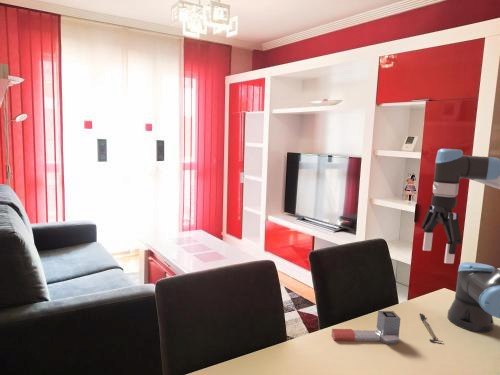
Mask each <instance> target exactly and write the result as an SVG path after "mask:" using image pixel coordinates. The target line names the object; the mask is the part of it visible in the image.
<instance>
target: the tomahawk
mask: <svg viewBox="0 0 500 375" xmlns="http://www.w3.org/2000/svg"><path fill="white" fill-rule="evenodd" d="M419 316H420V320H421V321H422V323H423V325H424V326H425V329H426V330H427V332H428V333H429V334H430V336H431V338H432V339H431V338H430V339H429V342H430V343H432V344H434V343H435V344H438V345H443V346H444V345H445V344H446V343H444V341H443V340H439V338H438V337H437V336H436V335H435V333H434V331H433V330H432V328H431V326H430V324H429V323H428V322H427V320H426V316H425V314H423V313H421V312H420V313H419Z"/></svg>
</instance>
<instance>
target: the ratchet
mask: <svg viewBox="0 0 500 375" xmlns="http://www.w3.org/2000/svg"><path fill="white" fill-rule="evenodd" d="M385 316H386V317H394V315H393V314H392V313H385ZM376 329H377V330H363V329H362V330H359V329H358V330H357V329H355V330H354V329H351V328H331V335H330V336H331V338H332V340H333V341H336V342H340V341H341V342H356V341H357V342H361V341H362V342H363V341H364V342H381V343H383V344H386V345H397V344H398V343H399V337H400V335H399V336H394V335H382V333H381V332H380V331H379V330H378V328H377V327H376Z"/></svg>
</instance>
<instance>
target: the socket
mask: <svg viewBox="0 0 500 375" xmlns="http://www.w3.org/2000/svg"><path fill="white" fill-rule="evenodd" d="M385 313H392V314H393V315H394V317H386V316H385ZM376 319H377V320H376V321H377V322H376V329H377V328H378V330H379V331H380V332H381V333H382V335H394V336H399V337H400V328H401V327H400V326H401V318H400V316H399V315H398V314H397V313H396V312H395V311H394V310H378V312H377V317H376Z"/></svg>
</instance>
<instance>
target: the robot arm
mask: <svg viewBox="0 0 500 375" xmlns="http://www.w3.org/2000/svg"><path fill="white" fill-rule="evenodd" d="M463 152H464V151H463V150H462V149H456V148H455V149H452V148H440V149H438V150H437V154H436V157H435V161H434V163H435V164H434V175H433V176H434V177H433V184H432V193H433V194H432V195H431V202H430V204H431V205H428V208H427V212H426V215H425V217H424V219H423V221H422V224H421V227H420V229H421V230H423V232H424V233H423V234H424V235H423V243H422V251H423V252H424V251H425V252H426V251H427V252H431V251H432V247H433V246H432V244H433V239H434V238H433V235H434V229H435V228H436V227H437V225H438V224H439V223H440V224H441V226H442V227H443V229H444V232H445V235H446V239H447V242H446V246H445V253H444V259H443V260H444V261H443V263H444V264H452V265H453V264H454V262H455V255H456V250H457V245H462V243H463V242H462V235H461V230H460V228H461V227H460V223H459V213H458V212H453V209H456V207H457V202H458V198H457V196H458V195H459V185H460V180H461V179H467V180H471V181H475V182H477V183H479V184H483V185H486V186H489V187H491V188H495V189H497V190H500V159H499V158H498V157H495V156H494V157H490V156H479V155H478V156H477V155H467V154H463ZM455 286H456V288H455V294H454V295H455V296H454V299H453V301H452V302H451V306H450V308H449V309H448V311H447V319H448V321H450V322H451V323H452V324H453V325H455V326H457V327H459V328H462V329H465V330H468V331H474V332H479V333H486V332H491V331H493V329H494V323H495V322H494V318H496V319H500V267H498V268H495V267H494V266H492V265H490V264H484V263H480V262H473V261H472V262H469V261H467V262H464V261H463V262H461V263H460V264H459V266H458V270H457V279H456V285H455ZM493 317H494V318H493Z"/></svg>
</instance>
